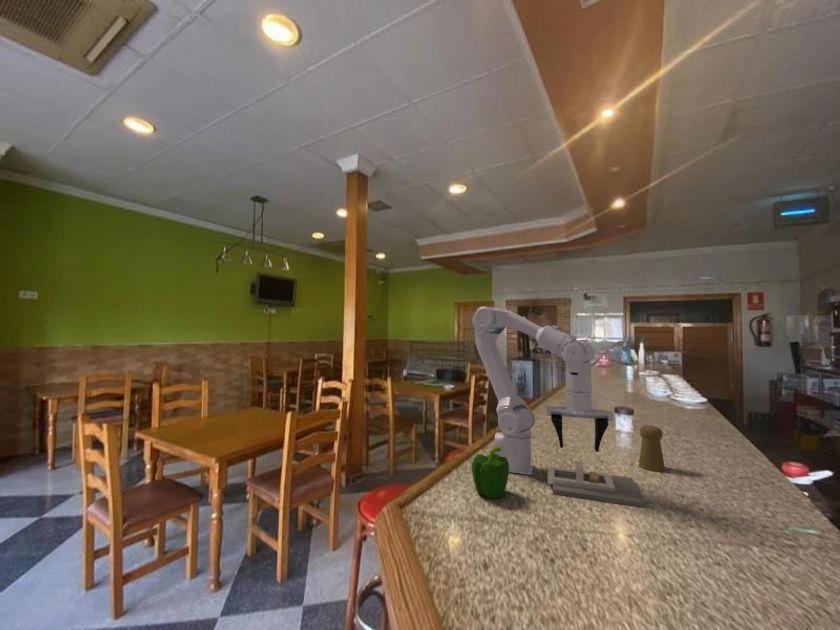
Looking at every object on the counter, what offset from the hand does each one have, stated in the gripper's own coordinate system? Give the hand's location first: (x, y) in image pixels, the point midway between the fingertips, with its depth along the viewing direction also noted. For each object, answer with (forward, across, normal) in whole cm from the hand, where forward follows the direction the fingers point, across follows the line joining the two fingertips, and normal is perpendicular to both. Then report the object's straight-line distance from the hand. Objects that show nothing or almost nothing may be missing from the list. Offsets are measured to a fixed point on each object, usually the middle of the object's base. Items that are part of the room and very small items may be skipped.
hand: (578, 448), depth 88 cm
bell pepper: (+9, -19, -12) cm, 24 cm away
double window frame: (+8, 0, 0) cm, 8 cm away
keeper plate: (+9, +3, 0) cm, 9 cm away
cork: (+9, +19, +20) cm, 29 cm away
